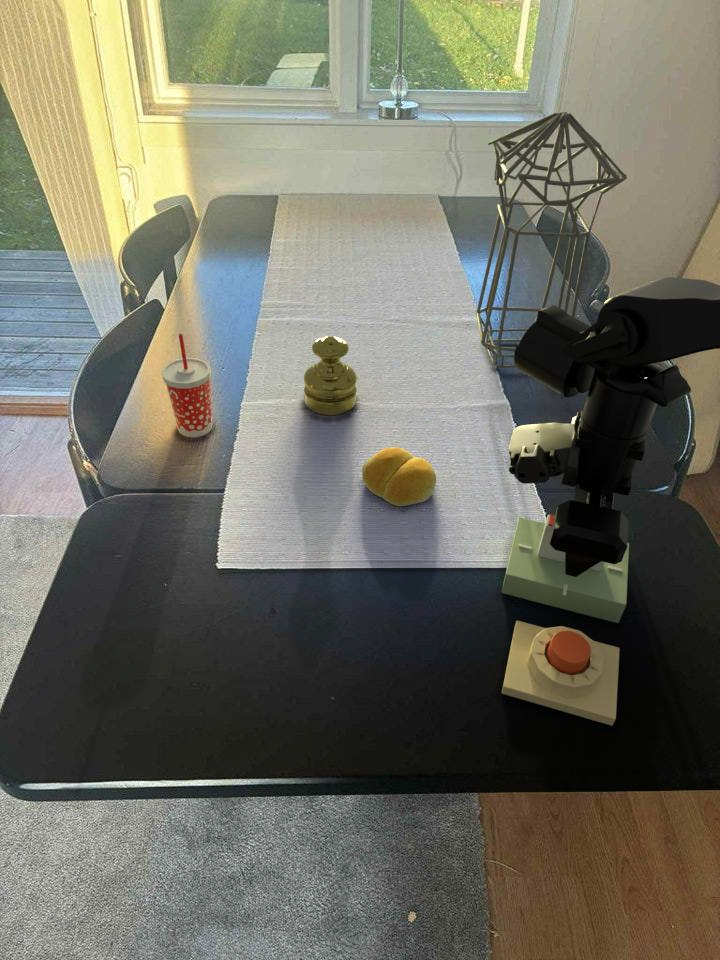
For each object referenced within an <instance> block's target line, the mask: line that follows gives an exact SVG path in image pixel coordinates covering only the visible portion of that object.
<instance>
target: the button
mask: <svg viewBox="0 0 720 960" xmlns="http://www.w3.org/2000/svg"><path fill="white" fill-rule="evenodd" d="M590 654H591V648H590V645H589V643H588V641H587V640H586V639H585V638H584V637H583V636H581V635H580V634H578V633H576V632H573V631H560V632H558V633H556V634H555V635H554V636H553V637H552V639H551V642H550V645H549V647H548V651H547V656H548V660H549V662H550V663H551V665H552V666H553V667H554V668H556V669H557V670H559V671H561V672H563V673H567V674H576V673H579V672H581V671H582V670H583V669H584V668H585V667H586V664H587V662H588V659H589V657H590Z"/></svg>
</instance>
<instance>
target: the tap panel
mask: <svg viewBox="0 0 720 960" xmlns="http://www.w3.org/2000/svg"><path fill="white" fill-rule="evenodd" d="M545 523H546V522H541V521H536V520H532V519H528V518H524V517H520V516H519V517H518V518H517V523H516V526H515V531H514V535H513V539H512V542H511V543H512V544H511V548H510V552H509V556H508V562H507V566H506V570H505V575H504V579H503V583H502V588H501V594H504V595H508V596H512V597H515V598H519V599H524V600H528V601H532V602H535V603H538V604H541V605H542V604H543V605H546V606H550V607H554V608H558V609H562V610H566V611H569V612H572V613H577V614H580V615H585V616H589V617H591V618H597V619H600V620H603V621H608V622H611V623H615V624H619V623H620V620H621V618H622V616H623V614H624V611H625V608H626V607H627V602H628V601H627V599H628V577H629V558H630V557H629V556H630V542H628V545H627V549H626V552H625V554H624V557H623V559H622V562H619V563H617V564H611V563H607V562H604V563H603V566H602V569H601V571H597V570H593V569H588V570H586V571H585V572H583V573H582V574H580V575H579V576H577V577H573V576H569V575H566V574H565V563H564V562H560V561H556V560H552V559H548V558H544V557H540V556H538V550H539V545H540V541H541V538H542V534H543V531H544V527H545Z"/></svg>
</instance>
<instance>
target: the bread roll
mask: <svg viewBox="0 0 720 960" xmlns="http://www.w3.org/2000/svg"><path fill="white" fill-rule="evenodd" d="M361 475H362V480H363V483H364V485H365V487H366V488H367V489H368V490H369V491H370V492H371V493H373V494H374V495H376V496H378V497H379V498H382V499H383V500H384V501H386V502H388V503H389V504H391V505H393V506H396V507H406V506H411V505H416V504H421V503H424V502H426V501H427V500H428V499H430V498H431V497H432V495H433V494H434V491H435V487H436V484H437V483H436V482H437V476H436V472H435V469H434V468H433V466H432V464H431V463H430V462H429V461H428V460H426V459H424V458H421V457H415V456H414V455H413V454H412V453H410V452H409V451H408V450H406V449H404V448H401V447H397V446H396V447H386V448H384V449H383V448H382V449H381V450H379V451H378V452H376V453H375V454H373V456H371V457H370V458H369V459H367V460H366V462H365V463H364V464H363V466H362V468H361Z"/></svg>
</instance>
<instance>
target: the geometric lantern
mask: <svg viewBox="0 0 720 960" xmlns="http://www.w3.org/2000/svg"><path fill="white" fill-rule="evenodd" d="M569 126H570V127H571V128H572V129H573V131H574V132H575V133H576V135H578V137H579V138H580V139H581V140H582V142H577V143H571V137H570V136H571V135H570V127H569ZM557 129H558V131H557V135H556V138H555V142H554V143H547V142H548V141H549V139H550V138H551V136H552V135H553V134H554V133H555V131H556V130H557ZM529 132H530V133H529ZM527 133H529V134H528V135H527V136H525V137H524V138H522V139H521V140H520V141H514V140H512V139H515V138H517V137H519V136H522V135H524V134H527ZM564 140H565V141H564ZM564 143H565V144H564ZM500 144H501V145H502V146H503V147H505V148H506V149H507V150H506V151H504V149H503V148H502V146H501V145H500ZM491 145H492V146H493V151H494V152H493V153H494V157H495V166H494V175H493V176H494V177H493V181H495V184H496V186H498V191H499V199H500V203H497V210H498V214H497V219H496V222H495V228H494V232H493V237H492V241H491V246H490V249H489V254H488V259H487V263H486V268H485V272H484V277H483V281H482V286H481V290H480V295H479V298H478V303H477V307H476V312H475V315H476V319H477V326H478V332H479V339H480V344H481V345H482V347H484V348H485V349H486V351H487V354H488V356H489V359H490V361H491V364H492V366H494V367H496V368H500V369H501V368H516V366H515V364H504V360H505V358H514V354H503V353H502V352H503V351H504V352H515V349H516V347H513V346H511V347H509V346H502V345H501V344H502V343H513V342H514V343H516V342H517V343H518V342H519V343H520V341H521V339H522V338H519V339H518V338H514V339H513V338H511V339H507V338H505V339H502V338H503V337H502V336H503V332H526V331H527V330H528V329H529V327H528V328H527V327H526V328H504V327H505V326H504V325H505V319H506V313H507V311H512V312H536V313H538V311H540V310H542V309H545V308H546V306H547V302H548V298H549V294H550V291H551V287H552V282H553V280H554V279H553V278H554V275H555V270H556V266H557V263H558V259H559V253H560V251H561V247H562V242H563V238H564V237H567V238H569V241H568V247H567V252H566V257H565V263H564V268H563V272H562V273H563V274H562V278H561V279H562V280H561V286H560V289H559V297H558V302H557V307H559V308H561V309H562V304H563V303H562V302H563V298H564V292H565V287H566V283H567V288H566V295H565V299H564V304H563V310H564V311H565V312H566V313H567V314H568V309H569V304H570V298H571V292H572V287H573V281H574V277H575V270H576V263H577V258H578V252H579V247H580V242H581V241H580V240H581V238H583V237H585V238H584V244H583V247H582V248H583V249H582V255H581V260H580V265H579V270H578V275H577V280H576V285H575V286H576V287H575V292H574V297H573V303H572V308H571V314H570V316H572V317H574V318H576V312H577V306H578V301H579V297H580V291H581V286H582V281H583V275H584V269H585V265H586V260H587V254H588V248H589V244H590V240H591V239H590V238H591V231H592V228H593V225H594V221H595V219H596V215H597V213H598V210H599V206H600V203H601V200H602V198H603V195H604V194H606V193H607V192H609V191H610V190H612V189H613V188H615V187H617V186H618V185H620V184H621V183H623V182H624V181H626V180H627V179H628V176H627V174H626V173H624V172H623V170H622V169H621V168H620V167H619V166H618V165H617V164H616V163H615V162H614V160H613V159H612V158H611V157H610V156H609V155H608V154H607V153H606V151H605V150H604V149H603V146H602V144H601V143H600V142H599V141H597V140H596V139H595V138H594V137H593V136H592V135H591V134H590V133H589V132H588V131H587V130H586V129H585V128H584V127H583V126H582V124H581V123H580V122H579V121H578V120H577V119H576V118H575V117H574V115H573V114H572V113H570V112H569V113H568V112H567V111H560V112H553V113H551V114H548V115H547V116H544V117H542V118H539V119H538V120H535V121H533V122H531V123H529V124H527V125H525V126H522V127H520V128H518V129H516V130H513V131H511V132H509V133H507V134H505V135H501V136H499V137H498V138H495V139H493V140H491V141H489V142H487V146H491ZM543 148H544V149H553V150H552V153H551V157H550V160H549V161H550V162H549V164H548V166H545V165H543V166H542V165H539V164H538V165H537V164H536V162H537V159H538V155H539V152H540V151H541V150H542V149H543ZM524 149H525V151H523V150H524ZM572 149H578V150H576V152H574V153H573V154H572ZM588 149H589V150H590V151H591V153H592V155H593V156H594V158H595V159H596V178H594V179H592V178H591V179H581V180H575V179H574V168H573V167H574V166H573V160H574V159H575V158H576V157H578V156H579V155H581V154H582V153H583V152H585V151H586V150H588ZM563 150H565V151H566V159H565V160H563V161H562V162H560V163H559V164H558V165H556V163H557V160H558V157H559V154H561V153H563ZM521 151H523V153H521ZM532 152H533V153H532ZM531 153H532V154H531ZM530 154H531V155H530ZM529 155H530V157H529V158H528V156H529ZM515 156H516V157H518V158H517V159H516V160H515V161H514V162H513V163H512V164H511V165H510V166H509V168H508V167H507V166H506V165H507V163H508V162H509V161H511V160H512V159H513V158H514V157H515ZM523 162H524V164H523V165H522V167H521V169H520V170H519V171H518V172H517V174H516V175H515V176H514V175H511V174H512V172H514V170H516V168H518V166H519V165H520V164H521V163H523ZM528 165H529V167H528V169H527V171H526V172H525V173H523V172H524V170H525V169H526V167H527V166H528ZM611 165H612V166H613V167H612V166H611ZM564 166H567V170H568V171H567V172H568V181H563V179H562V177H561V174H560V172H559V170H561V169H562V168H563V167H564ZM533 169H534V170H538V171H543V172H547V173H546V175H538V174H537V175H536V174H531V172H532V170H533ZM602 169H603V170H602ZM503 172H504V173H503ZM552 173H556V176H557V178H558V180H553V179H551V178H552V177H551V176H552ZM605 175H606V178H604V177H605ZM508 178H509V179H511V180H514V181H516V180H517V179H518V180H519V181H520V182H519V184H518V185H517V187H516V188H515V190H514V192H513V193H512V195H511V196H510V198H509V200H508V198H507V197H508V196H507V183H506V182H507V181H508ZM528 180H531V181H541V182H544V189H543V193H541V192H540V191H539V190H538V189H537V188H536V187H535V186H533V184H532V183H530V181H528ZM549 185H550V186H558V187H562V190H563V192H564V194H565V199H558V200H557V199H556V200H549V199H548V186H549ZM586 185H587V186H588V185H591V186H590V188H589V189H588V190H586V191H584V192H582V193H580V194H576V195H575V196H573V197H570V194H571V187H576V186H586ZM523 186H525V187H526V188H528V189H529V190H530V191H531V192H532V193H533V194H534V195H535V196H536V197H537V198H538V199H539V200H540V201H541V202H531V201H530V202H527V201H514V200H515V198H516V197H517V195H518V194H519V192H520V190H521V188H522V187H523ZM598 191H599V196H598V199H597V202H596V205H595V209H594V212H593V215H592V218H591V221H590V224H589V227H588V225H587V223H586V221H585V220H584V218H583V216H582V215H581V213H580V211H579V209H580V207H582V205H583V204H584V202H585V201H586V200H587V199H588V197H590V196H591V195H592V194H595V193H597V192H598ZM577 201H579V202H578V203H577V204H576V205H575V207H574V205H573V203H574V202H577ZM514 206H540V207H539V208H538V209H537V210H536V211H535V212H534V213H533V214H532V215H531V216H530V217H529V218H528V219H527V220H526V221H524V223H523V224H522V225H521V226H520V227H519V228H518V229H515V228H513V226H509V225H510V221H511V217H512V213H513V207H514ZM545 207H565V210H564V214H563V215H564V216H563V218H562V222H561V227H560V231H559V232H538V231H521V230H523V228H525V227H526V226H527V225H528V223H529V222H531V221H532V220H533V219H534V218H535V217H536V216H537V215H538V214H539V213H540V212H541V211H542V210H543V209H544V208H545ZM507 208H508V211H507ZM569 216H570V220H571V223H572V225H571V228H570V229H571V230H570V233H565V230H566V226H567V221H568V218H569ZM578 218H579V220H580V222H581V224H582V226H583V228H584V229H585V231H584V232H580V230H579V226H578V223H577V222H578ZM501 222H502V225H503V232H502V236H501V241H500V245H499V249H498V254H497V257H496V262H495V267H494V271H493V275H492V279H491V284H490V287H489V292H488V297H487V301H486V306H485V307H483V308H482V305H483V300H484V296H485V292H486V287H487V283H488V279H489V274H490V270H491V266H492V261H493V257H494V251H495V247H496V243H497V238H498V234H499V230H500V225H501ZM510 233H512V234H513V235H514V237H513V242H512V249H511V253H510V254H511V255H510V259H509V260H510V261H509V267H508V272H507V279H506V285H505V291H504V296H503V297H504V298H503V304H502V306H494V304H495V298H496V294H497V291H498V286H499V281H500V278H501V273H502V268H503V264H504V260H505V256H506V251H507V246H508V243H509V237H510ZM520 235H522V236H523V235H524V236H545V237H558V240H557V245H556V248H555V252H554V256H553V260H552V265H551V269H550V272H549V276H548V280H547V285H546V289H545V293H544V297H543V300H542V304H541V307H539V308H538V307H511V306H509V307H508V301H509V296H510V290H511V284H512V277H513V271H514V266H515V259H516V254H517V248H518V243H519V236H520ZM574 239H575V243H574ZM573 243H574V247H573ZM572 248H573V250H572ZM572 251H573V253H572ZM571 255H572V259H571ZM570 260H571V264H570ZM569 265H570V271H569ZM568 271H569V276H568ZM567 277H568V282H567ZM492 311H501V316H500V323H499V328H495V329H493V327H492V323H491V316H492ZM482 313H485V316H486V319H485V322H484V319H482V317H481V314H482ZM536 319H537V317H536V318H535V320H534V322H533V323H535V322H536ZM495 332H497V333H498V335H497V339H493V334H494V333H495ZM495 343H496V345H495ZM492 354H493V355H494V357H493V355H492ZM498 358H501V361H500V364H499V363H498Z"/></svg>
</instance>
